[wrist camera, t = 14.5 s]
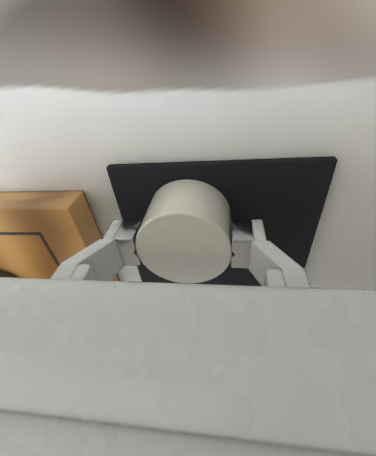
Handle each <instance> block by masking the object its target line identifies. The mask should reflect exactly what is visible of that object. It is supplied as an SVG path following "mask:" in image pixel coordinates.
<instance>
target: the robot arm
mask: <svg viewBox="0 0 376 456" xmlns="http://www.w3.org/2000/svg"><path fill="white" fill-rule="evenodd" d="M141 223H142V220H114V221H113V222H112V223H111V225H110V227H109V228H108V230H107V232H106V234H105V235H104V237H103V239H99V240H98V241H96V242H94V243H93V244H91V245H89V246H88V247H86V248H85V249H83V250H81V251H80V252H78V253H77V254H75V255H73V256H72V257H70V258H68V259H67V260H65V261H64V262H62V263H61V264H60V265H59V267H58V268H57V270H56V271H55V273H54V274H53V275H52V277H51V278H50V279H41V278H13V277H0V456H376V290H356V289H327V288H311V287H310V284H309V281H308V278H307V275H306V272H305V269H304V268H302V267H301V266H300V265H299V264H298V263H296V262H295V261H294V260H293V259H291V258H290V257H289V256H288V255H286V254H285V253H284V252H283V251H282V250H280V249H279V248H278V247H277V246H275V245H274V244H273V243H272V242H270V241H267V240H266V235H265V230H264V225H263V220H262V219H255V220H231V243H232V252H233V253H232V256H231V268H248V269H249V271H250V272H251V273H252V274H253V276H254V277H255V278H256V279H257V281H258V282H259V283H260V284H261V286H240V285H212V284H184V283H154V282H126V281H109V280H110V279H111V278H113V277H114V276H115V275H116V274H117V273H118V272H119V271H120V270H121V269H122V268H123V267H124V265H140V264H141V260H140V258H139V257H138V254H137V252H136V246H135V239H136V235H137V232H138V230H139V228H140V225H141Z"/></svg>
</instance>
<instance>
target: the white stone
mask: <svg viewBox="0 0 376 456" xmlns="http://www.w3.org/2000/svg"><path fill="white" fill-rule="evenodd" d="M135 246H136V252H137V254H138V257H139V258H140V260H141V262H142V263H143V264H144V265H145V266H146V267H147V268H148V269H149V270H150V271H151V272H153V273H154V274H156V275H158V276H160V277H162V278H164V279H167V280H170V281H173V282H178V283H200V282H205V281H208V280H211V279H213V278H215V277H217V276H219V275H220V274H221V273H222V272H224V271H225V269H226V268H227V267H228V265H229V263H230V261H231V256H232V253H233V252H232V243H231V210H230V206H229V204H228V202H227V200H226V198H225V197H224V196H223V194H222V193H221V192H219V191H218V190H217V189H216V188H214V187H213V186H211V185H209V184H207V183H205V182H202V181H198V180H192V179H184V180H177V181H173V182H170V183H168V184H166V185H164V186H163V187H161V188H160V189H159V190H158V191H157V192H156V193H155V194H154V196H153V197H152V199H151V201H150V204H149V206H148V209H147V211H146V213H145V216H144V218H143V220H142V223H141V225H140V228H139V230H138V232H137V235H136V239H135Z"/></svg>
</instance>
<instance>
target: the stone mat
mask: <svg viewBox="0 0 376 456" xmlns="http://www.w3.org/2000/svg"><path fill="white" fill-rule="evenodd" d="M336 163H337V159H336V158H335V157H311V158H283V159H255V160H227V161H199V162H171V163H143V164H115V165H108V167H107V171H108V174H109V178H110V181H111V184H112V187H113V190H114V193H115V197H116V200H117V203H118V206H119V209H120V212H121V216H122V219H123V220H143V218H144V216H145V213H146V211H147V209H148V206H149V204H150V201H151V199H152V197H153V196H154V194H155V193H156V192H157V191H158V190H159V189H160V188H161V187H163V186H164V185H166V184H168V183H170V182H173V181H177V180H184V179H192V180H198V181H202V182H205V183H207V184H209V185H211V186H213V187H214V188H216V189H217V190H218V191H219V192H221V193H222V194H223V196H224V197H225V198H226V200H227V202H228V204H229V206H230V210H231V220H255V219H262V220H263V225H264V230H265V235H266V240H267V241H270V242H272V243H273V244H274V245H275V246H277V247H278V248H279V249H280V250H282V251H283V252H284V253H285V254H286V255H288V256H289V257H290V258H291V259H293V260H294V261H295V262H296V263H298V264H299V265H300V266H301V267H302V268H305V265H306V262H307V258H308V255H309V252H310V248H311V245H312V242H313V239H314V235H315V232H316V229H317V226H318V222H319V219H320V216H321V212H322V209H323V206H324V203H325V199H326V196H327V193H328V190H329V186H330V183H331V180H332V176H333V173H334V170H335V167H336ZM137 266H138V270H139V273H140V276H141V279H142V282H154V283H178V282H173V281H170V280H167V279H164V278H162V277H160V276H158V275H156V274H154V273H153V272H151V271H150V270H149V269H148V268H147V267H146V266H145V265H144V264H143V263H142V262H141V264H140V265H137ZM184 284H212V285H240V286H261V284H260V283H259V282H258V281H257V279H256V278H255V277H254V276H253V274H252V273H251V272H250V271H249V269H248V268H231V261H230V263H229V265H228V267H227V268H226V269H225V271H224V272H222V273H221V274H220V275H219V276H217V277H215V278H213V279H211V280H208V281H205V282H200V283H184Z"/></svg>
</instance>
